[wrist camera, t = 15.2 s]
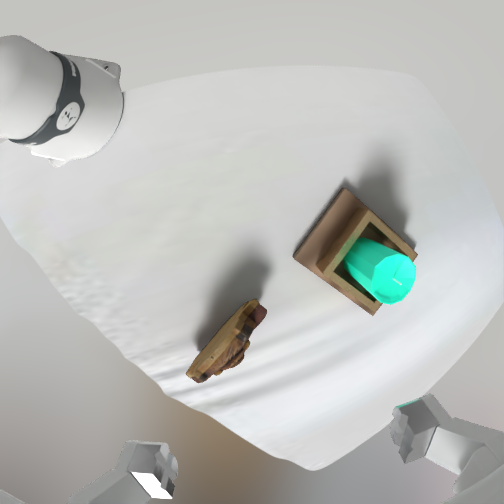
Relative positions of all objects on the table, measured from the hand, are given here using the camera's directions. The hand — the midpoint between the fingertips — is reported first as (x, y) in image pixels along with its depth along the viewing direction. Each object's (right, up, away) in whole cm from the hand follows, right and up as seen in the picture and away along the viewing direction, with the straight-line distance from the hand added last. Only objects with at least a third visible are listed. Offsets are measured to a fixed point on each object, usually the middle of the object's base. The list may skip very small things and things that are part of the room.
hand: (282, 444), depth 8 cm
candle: (+15, +6, +32) cm, 35 cm away
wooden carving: (-5, -5, +35) cm, 36 cm away
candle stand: (+15, +6, +33) cm, 36 cm away
